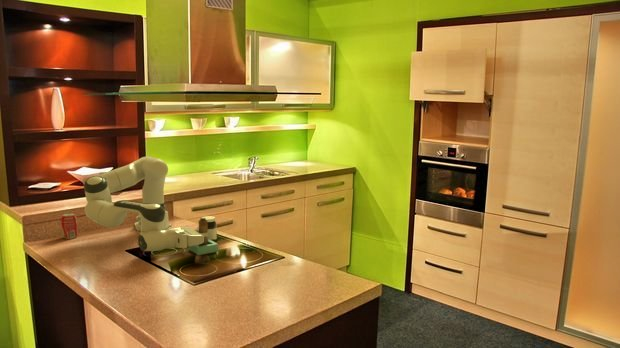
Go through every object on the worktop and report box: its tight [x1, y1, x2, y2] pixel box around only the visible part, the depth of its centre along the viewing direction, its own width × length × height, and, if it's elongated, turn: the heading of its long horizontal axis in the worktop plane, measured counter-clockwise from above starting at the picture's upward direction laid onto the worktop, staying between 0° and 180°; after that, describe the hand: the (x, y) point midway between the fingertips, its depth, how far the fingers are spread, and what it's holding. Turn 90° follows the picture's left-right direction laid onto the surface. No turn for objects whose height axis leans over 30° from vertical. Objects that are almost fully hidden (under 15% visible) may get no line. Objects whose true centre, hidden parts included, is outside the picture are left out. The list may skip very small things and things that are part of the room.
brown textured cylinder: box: [198, 217, 208, 246], centre depth 229 cm, size 4×4×14 cm
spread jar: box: [195, 215, 218, 242], centre depth 246 cm, size 12×11×12 cm
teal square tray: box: [188, 239, 219, 256], centre depth 230 cm, size 10×10×4 cm
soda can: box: [60, 212, 79, 240], centre depth 248 cm, size 7×7×12 cm
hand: (205, 232), depth 229 cm, fingers closed on brown textured cylinder, 4 cm apart
